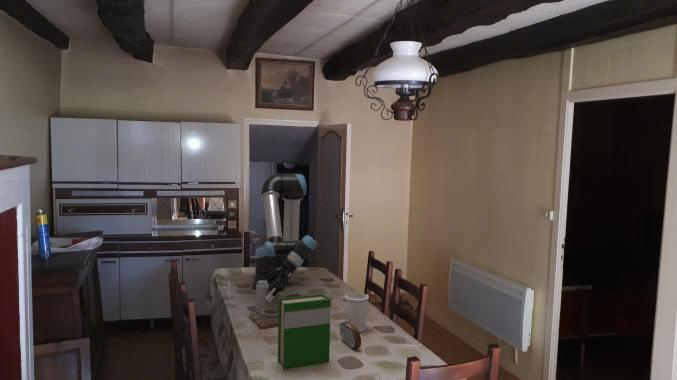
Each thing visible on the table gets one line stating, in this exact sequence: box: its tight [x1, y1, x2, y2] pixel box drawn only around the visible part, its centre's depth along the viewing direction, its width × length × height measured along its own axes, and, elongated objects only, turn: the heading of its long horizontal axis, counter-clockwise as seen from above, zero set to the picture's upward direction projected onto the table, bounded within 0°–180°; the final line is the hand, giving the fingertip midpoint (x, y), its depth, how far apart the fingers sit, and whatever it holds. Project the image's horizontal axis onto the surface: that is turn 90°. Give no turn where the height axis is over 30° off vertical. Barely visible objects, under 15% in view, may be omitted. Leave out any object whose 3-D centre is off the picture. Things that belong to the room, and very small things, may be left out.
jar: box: [344, 292, 370, 333], centre depth 221 cm, size 11×10×15 cm
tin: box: [339, 320, 362, 350], centre depth 203 cm, size 15×3×8 cm, turn 25°
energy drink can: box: [255, 280, 270, 314], centre depth 240 cm, size 6×6×15 cm
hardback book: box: [277, 293, 332, 371], centre depth 185 cm, size 18×7×24 cm, turn 114°
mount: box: [248, 307, 279, 330], centre depth 229 cm, size 16×16×4 cm
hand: (262, 296), depth 239 cm, fingers open, 13 cm apart
